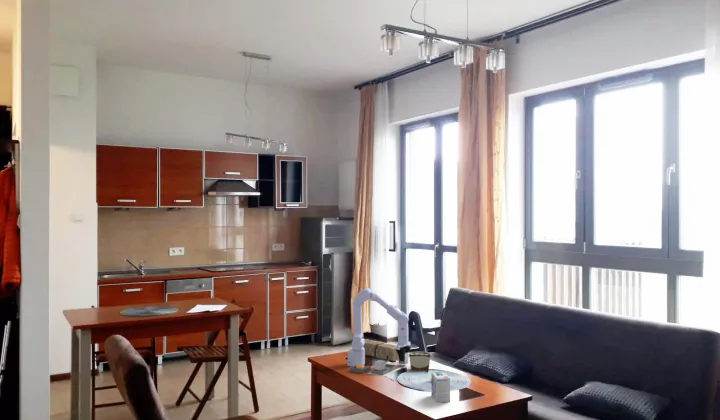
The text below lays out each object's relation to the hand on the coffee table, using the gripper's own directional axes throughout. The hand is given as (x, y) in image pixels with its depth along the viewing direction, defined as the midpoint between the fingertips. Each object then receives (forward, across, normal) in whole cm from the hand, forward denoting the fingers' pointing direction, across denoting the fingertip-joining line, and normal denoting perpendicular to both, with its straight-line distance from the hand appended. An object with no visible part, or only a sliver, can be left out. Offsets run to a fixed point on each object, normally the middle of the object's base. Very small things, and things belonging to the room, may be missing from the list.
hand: (403, 360), depth 316 cm
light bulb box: (+4, -42, -40) cm, 58 cm away
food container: (+4, -2, -11) cm, 12 cm away
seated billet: (+3, -20, +4) cm, 20 cm away
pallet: (+4, -15, +4) cm, 16 cm away
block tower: (+5, +18, +24) cm, 31 cm away
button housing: (+4, -22, +15) cm, 27 cm away
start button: (+3, -22, +15) cm, 27 cm away
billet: (+2, 0, 0) cm, 2 cm away
